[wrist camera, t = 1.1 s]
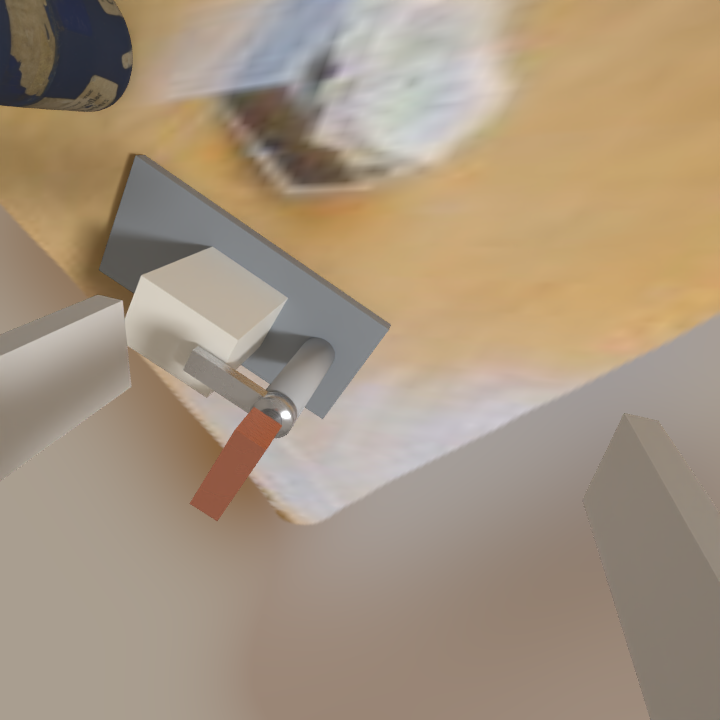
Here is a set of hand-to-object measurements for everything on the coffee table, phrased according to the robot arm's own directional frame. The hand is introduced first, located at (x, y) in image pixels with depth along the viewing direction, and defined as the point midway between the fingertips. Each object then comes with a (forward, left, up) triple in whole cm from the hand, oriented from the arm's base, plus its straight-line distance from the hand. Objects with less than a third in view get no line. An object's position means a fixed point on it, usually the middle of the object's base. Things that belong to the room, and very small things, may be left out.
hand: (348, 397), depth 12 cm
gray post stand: (-11, -15, -28) cm, 34 cm away
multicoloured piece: (-5, -13, -17) cm, 22 cm away
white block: (-11, -15, -27) cm, 33 cm away
